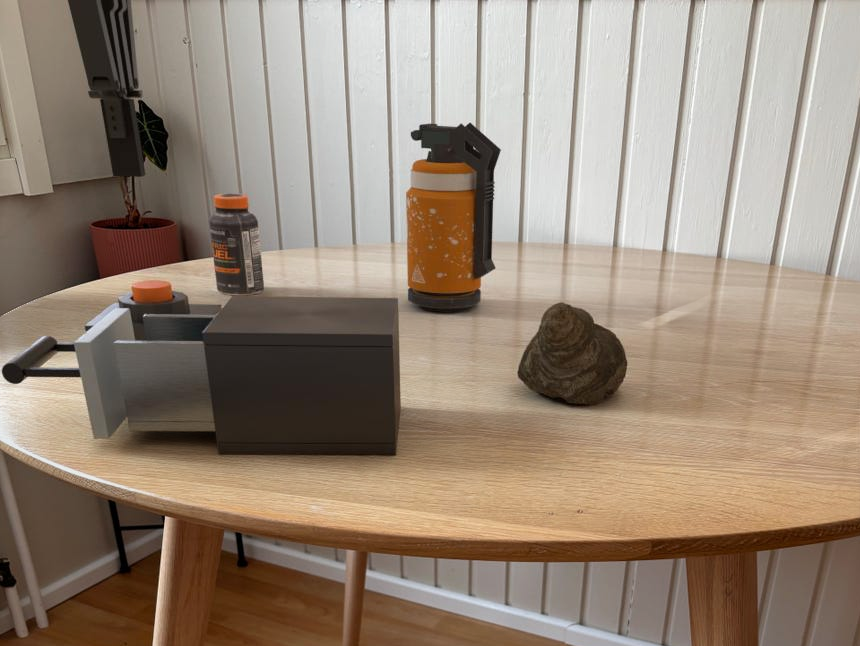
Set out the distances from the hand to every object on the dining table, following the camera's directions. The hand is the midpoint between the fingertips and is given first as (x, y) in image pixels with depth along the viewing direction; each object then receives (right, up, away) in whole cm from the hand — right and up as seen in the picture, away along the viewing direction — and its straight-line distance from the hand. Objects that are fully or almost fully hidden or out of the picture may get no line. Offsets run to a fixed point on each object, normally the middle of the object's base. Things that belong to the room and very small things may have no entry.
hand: (129, 175), depth 92 cm
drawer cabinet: (+21, -28, -14) cm, 37 cm away
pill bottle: (+4, -1, +29) cm, 29 cm away
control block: (0, -12, +10) cm, 16 cm away
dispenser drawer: (+7, -27, -15) cm, 32 cm away
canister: (+31, -4, +24) cm, 40 cm away
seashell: (+44, -22, -3) cm, 49 cm away
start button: (0, -9, +8) cm, 12 cm away
